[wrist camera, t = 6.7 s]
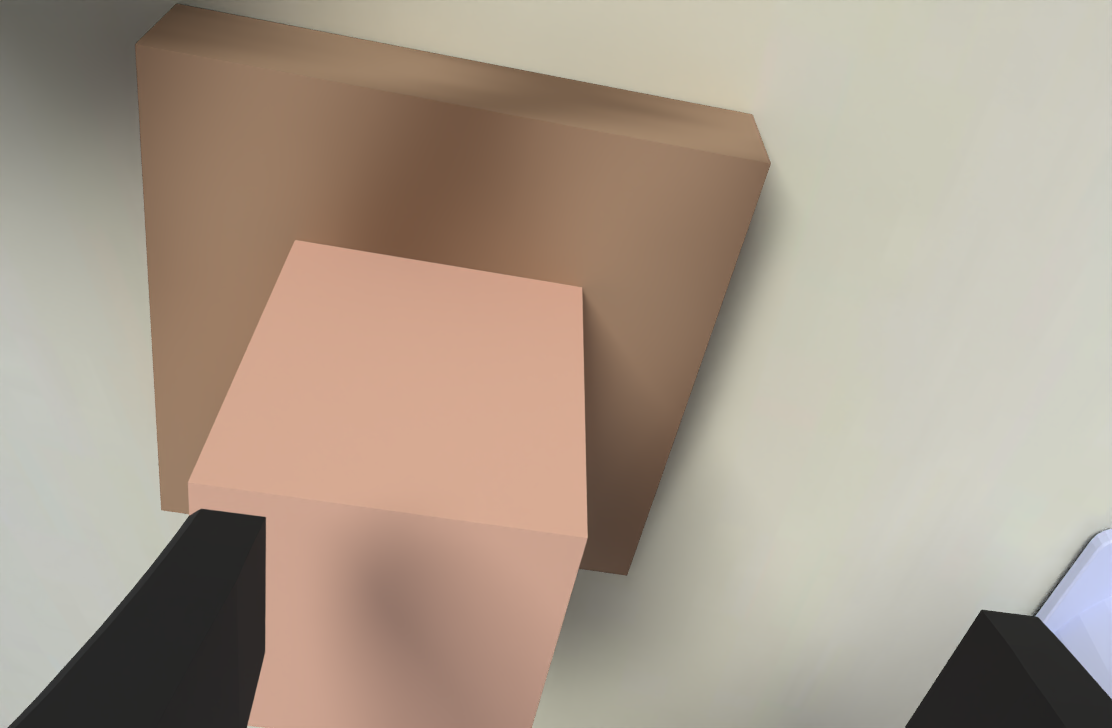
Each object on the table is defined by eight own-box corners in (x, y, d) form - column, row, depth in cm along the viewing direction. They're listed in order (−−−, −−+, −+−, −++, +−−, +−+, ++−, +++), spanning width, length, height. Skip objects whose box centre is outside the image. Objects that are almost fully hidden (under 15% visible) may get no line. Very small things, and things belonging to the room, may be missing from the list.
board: (752, 114, 18) (770, 163, 16) (623, 510, 24) (627, 575, 22) (176, 3, 17) (134, 43, 15) (190, 447, 23) (161, 510, 21)
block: (582, 287, 18) (587, 538, 13) (533, 490, 21) (522, 757, 16) (295, 239, 17) (187, 482, 12) (286, 455, 20) (198, 719, 15)
